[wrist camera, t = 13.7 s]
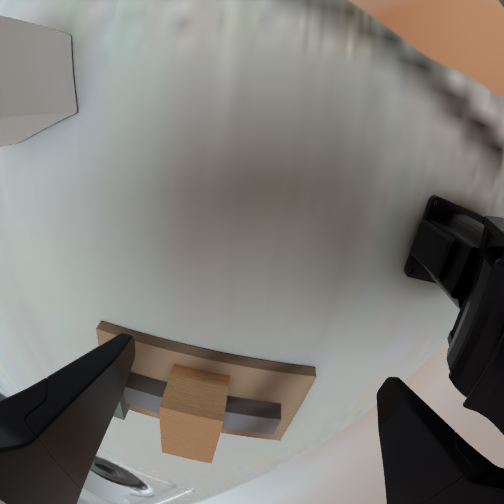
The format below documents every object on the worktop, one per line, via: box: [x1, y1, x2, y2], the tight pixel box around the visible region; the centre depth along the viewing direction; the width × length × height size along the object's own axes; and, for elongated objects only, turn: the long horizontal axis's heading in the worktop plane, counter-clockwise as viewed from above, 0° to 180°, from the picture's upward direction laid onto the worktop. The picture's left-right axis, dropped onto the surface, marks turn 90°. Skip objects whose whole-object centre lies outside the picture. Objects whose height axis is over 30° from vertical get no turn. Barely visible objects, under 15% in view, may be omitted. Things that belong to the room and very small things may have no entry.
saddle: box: [159, 363, 230, 463], centre depth 23 cm, size 5×9×5 cm, turn 168°
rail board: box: [96, 321, 316, 440], centre depth 25 cm, size 20×12×4 cm, turn 78°
